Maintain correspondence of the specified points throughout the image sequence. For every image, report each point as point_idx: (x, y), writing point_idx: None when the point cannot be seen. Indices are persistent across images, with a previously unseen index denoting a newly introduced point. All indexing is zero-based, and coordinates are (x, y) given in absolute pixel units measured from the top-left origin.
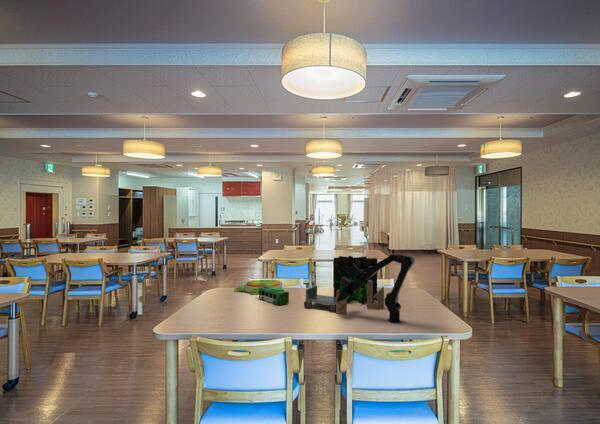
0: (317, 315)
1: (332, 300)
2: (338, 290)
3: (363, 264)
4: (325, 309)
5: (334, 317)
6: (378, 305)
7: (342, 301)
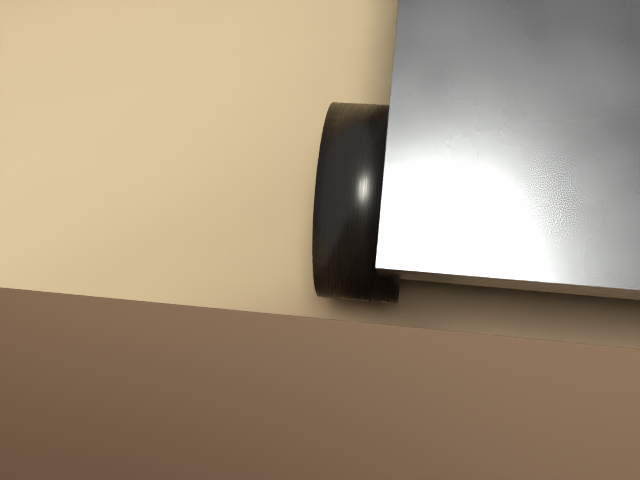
0: (34, 48)
1: (602, 55)
2: (187, 394)
3: None
4: None
5: None
6: None
7: None
